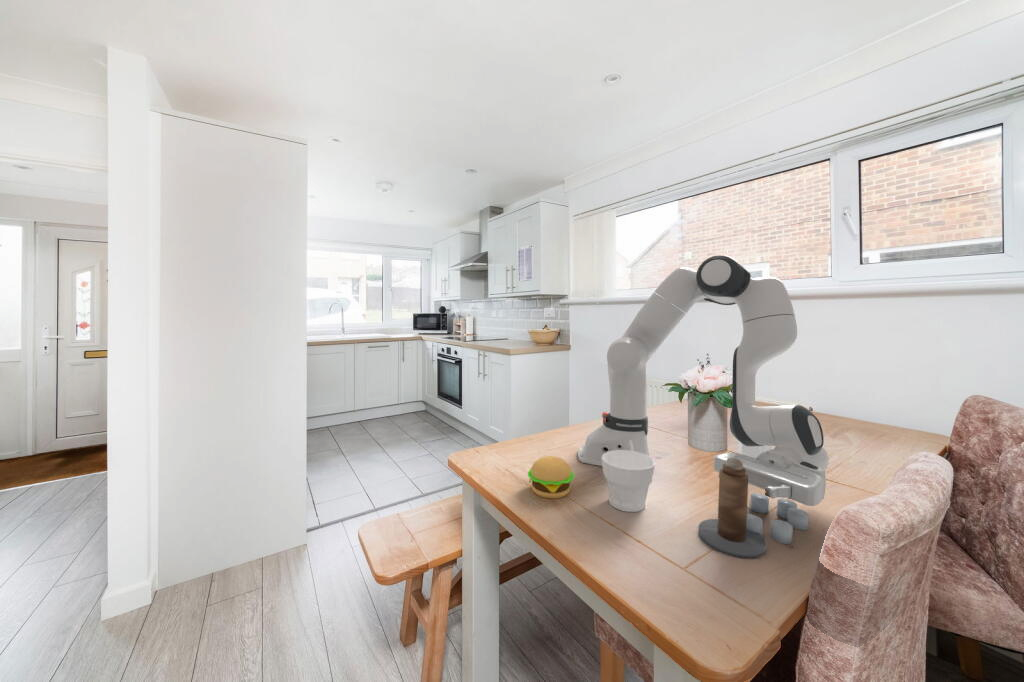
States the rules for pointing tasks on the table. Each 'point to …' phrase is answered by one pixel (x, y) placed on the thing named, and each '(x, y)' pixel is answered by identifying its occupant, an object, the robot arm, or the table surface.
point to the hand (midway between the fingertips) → (744, 483)
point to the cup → (627, 478)
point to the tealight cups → (779, 528)
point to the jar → (752, 450)
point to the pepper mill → (733, 501)
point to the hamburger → (550, 477)
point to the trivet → (747, 549)
